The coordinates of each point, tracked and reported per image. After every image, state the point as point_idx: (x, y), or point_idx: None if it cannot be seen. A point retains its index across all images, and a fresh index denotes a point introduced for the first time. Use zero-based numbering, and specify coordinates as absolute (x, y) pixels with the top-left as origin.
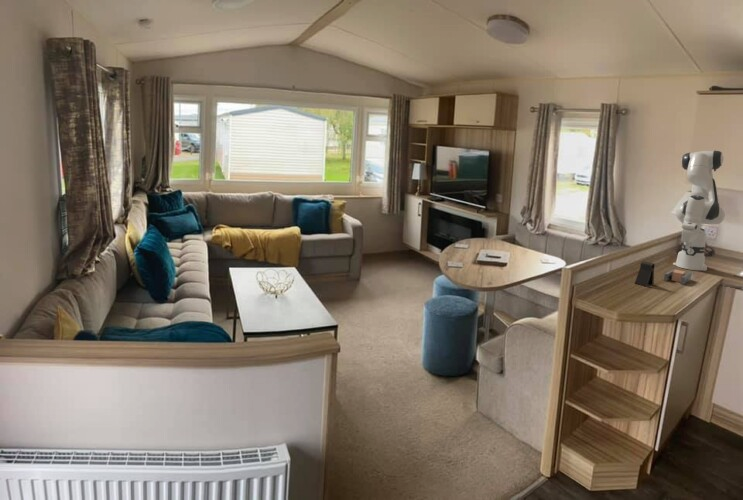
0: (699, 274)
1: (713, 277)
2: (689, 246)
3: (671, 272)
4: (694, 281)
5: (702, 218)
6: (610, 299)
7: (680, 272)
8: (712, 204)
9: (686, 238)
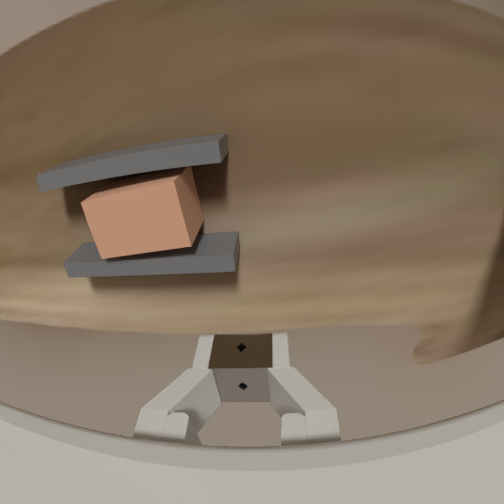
0: (445, 240)
1: (426, 301)
2: (229, 395)
3: (114, 176)
4: None
5: None
6: None
7: (120, 236)
8: None
9: None
